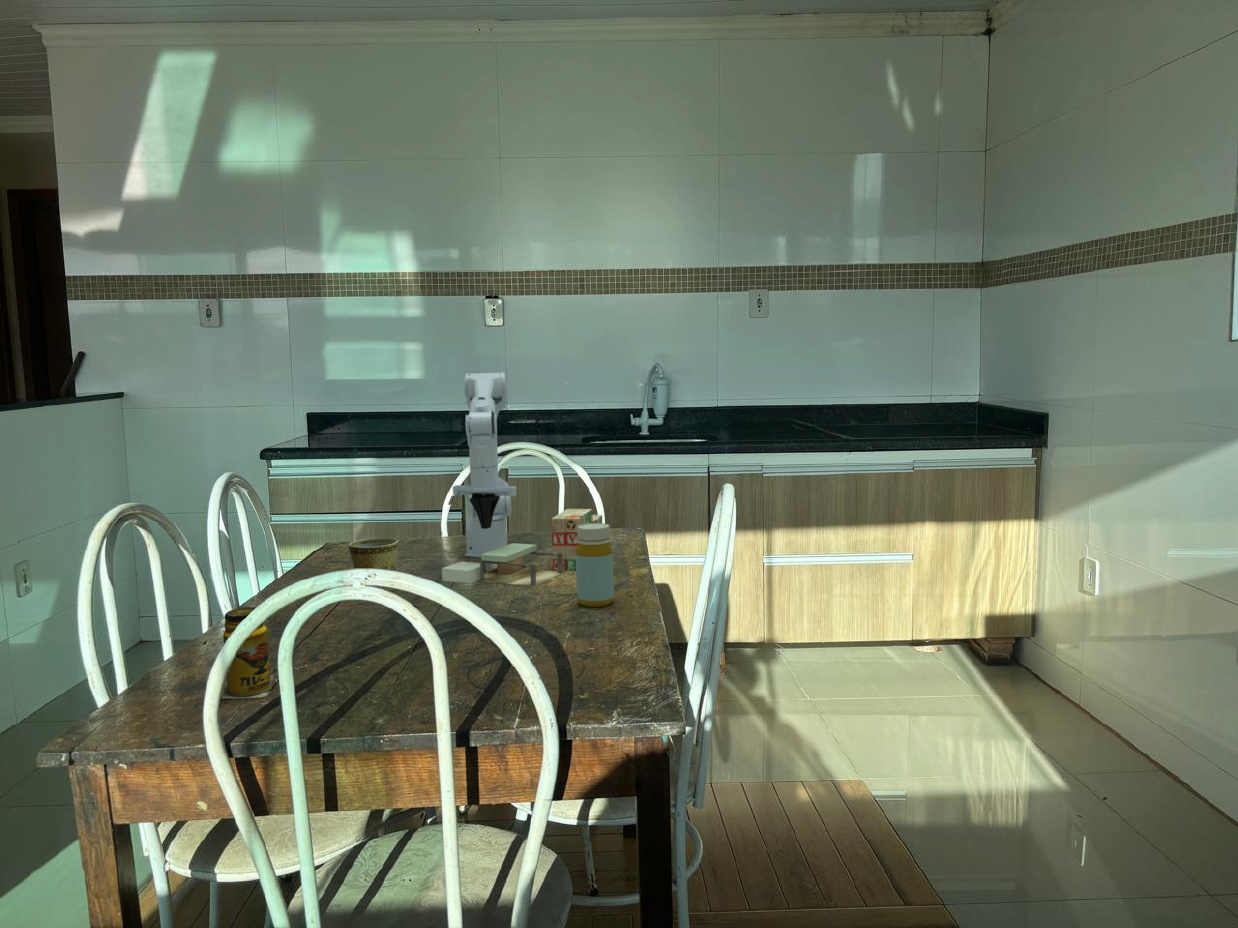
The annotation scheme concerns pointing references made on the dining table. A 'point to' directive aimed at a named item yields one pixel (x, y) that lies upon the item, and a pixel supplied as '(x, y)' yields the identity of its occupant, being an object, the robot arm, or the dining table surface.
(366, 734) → the dining table surface
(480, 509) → the robot arm
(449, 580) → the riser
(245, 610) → the condiment
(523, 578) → the grey frame
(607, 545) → the bottle
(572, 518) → the stack of blocks
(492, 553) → the lid
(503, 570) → the block
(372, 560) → the ceramic cup
